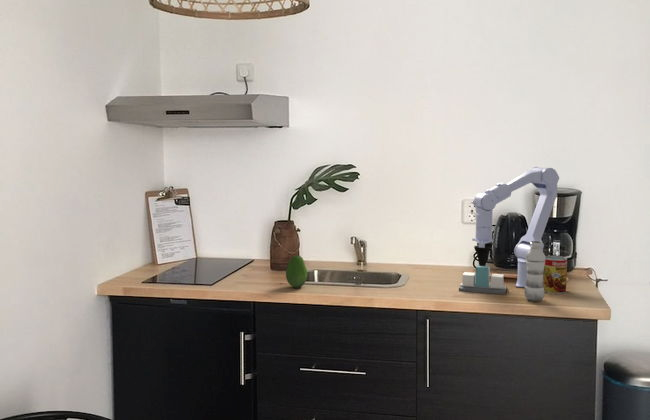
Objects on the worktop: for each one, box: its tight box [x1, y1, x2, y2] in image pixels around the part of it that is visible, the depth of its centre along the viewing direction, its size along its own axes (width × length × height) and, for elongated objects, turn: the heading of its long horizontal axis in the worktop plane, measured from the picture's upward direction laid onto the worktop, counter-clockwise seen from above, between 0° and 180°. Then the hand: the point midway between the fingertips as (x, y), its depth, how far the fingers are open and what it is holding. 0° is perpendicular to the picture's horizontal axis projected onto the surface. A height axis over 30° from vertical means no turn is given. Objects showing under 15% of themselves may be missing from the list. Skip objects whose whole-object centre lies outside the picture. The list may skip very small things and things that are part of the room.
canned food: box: [543, 255, 568, 294], centre depth 224 cm, size 8×8×12 cm
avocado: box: [285, 255, 308, 289], centre depth 233 cm, size 8×8×12 cm
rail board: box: [458, 271, 508, 295], centre depth 227 cm, size 16×9×6 cm, turn 70°
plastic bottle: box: [524, 241, 546, 302], centre depth 211 cm, size 6×7×20 cm
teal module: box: [475, 264, 491, 287], centre depth 227 cm, size 4×4×7 cm
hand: (483, 264), depth 226 cm, fingers open, 6 cm apart
